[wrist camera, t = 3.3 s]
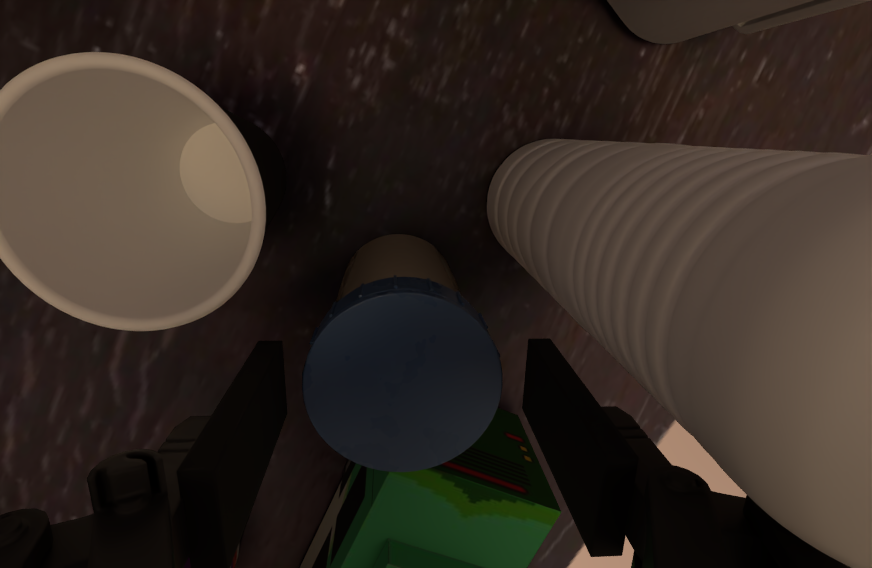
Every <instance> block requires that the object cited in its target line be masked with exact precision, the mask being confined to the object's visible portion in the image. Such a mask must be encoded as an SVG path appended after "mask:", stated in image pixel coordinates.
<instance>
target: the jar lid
mask: <svg viewBox="0 0 872 568" xmlns="http://www.w3.org/2000/svg"><path fill="white" fill-rule="evenodd" d="M487 328H488V326H487V325H486V323H485V321H484V319H483V317H482V315H481V313H479V314H478V313H477V311H476V310H475V309H474V308H473V307H472V306H471V304H470V303H469V302H468V301H466V300H465V299H464V298H463V297H462V296H461V294H460V292H459V291H457V292H455V291H453V290H452V289H450V288H448V287H446V286H444V285H442V284H440V283H437V282H434V281H431V279H430V278H427V279H422V278H417V277H397V275H393V277H390V278H385V279H380V280H376V281H373V282H370V283H367V284H365V285H364V283H362V284H360V287H358V288H356V289H354V290H353V291H351V292H350V293H348V294H347V295H345V296H344V297H343V298H342V299H340V300H339V301H338V302H334V303H333V305H332V308H331V309H330V310H329V311H328V313H327V314H326V316H325V317H324V318H323V320H322V321H321V323H320V325H319V327H318V328H317V327H316V328H315V330H314V333H313V336H312V338H311V341H310V343H309V344H311V347H310V350H309V353H308V356H307V359H306V362H305V365H304V370H303V372H302V376H303V377H302V391H303V399H304V403H305V407H306V410H307V413H308V416H309V418H310V420H311V422H312V424H313V426H314V427H315V429H316V430H317V432H318V433H319V435H320V436H321V437H322V438H323V439H324V441H325V442H326V443H327V444H328V445H329V446H331V447H332V448H333V449H334V450H335V451H336V452H338V453H339V454H341V455H342V456H344V457H345V458H347V459H349V460H351V461H353V462H355V463H357V464H360V465H362V466H365V467H368V468H372V469H376V470H381V471H388V472H411V471H418V470H423V469H428V468H431V467H434V466H437V465H440V464H442V463H445V462H447V461H449V460H451V459H453V458H455V457H456V456H458V455H460V454H461V453H462V452H464V451H465V450H466V449H468V448H469V447H470V446H471V445H472V444H473V443H475V442H476V441H477V440H478V439H479V438H480V436H481V435H482V434H483V433H484V431H485V430H486V429H487V427H488V426H489V424H490V422H491V421H492V419H493V417H494V415H495V412H496V410H497V408H498V404H499V401H500V397H501V391H502V368H501V362H500V358H499V357H500V354H499V352H498V350H497V348H496V346H495V344H494V342H493V340H492V339H491V337H490V335H489V333H488V330H487Z"/></svg>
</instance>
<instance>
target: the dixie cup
mask: <svg viewBox="0 0 872 568" xmlns="http://www.w3.org/2000/svg"><path fill="white" fill-rule="evenodd" d="M285 190H286V170H285V165H284V161H283V159H282V156H281V154H280V152H279V150H278V148H277V146H276V145H275V143H274V142H273V141H272V139H271V138H270V137H269V136H268V135H267V134H266V133H265V132H264V131H263V130H261V129H260V128H259V127H257V126H256V125H254V124H253V123H251V122H249V121H247V120H245V119H243V118H241V117H239V116H237V115H235V114H233V113H231V112H230V111H228V110H226V109H224V108H222V107H220V106H218V104H216V103H215V102H214V101H213V100H212V99H211V98H210V97H209V96H208V95H207V94H205V93H204V92H203V91H202V90H200V89H199V88H198V87H196V86H195V85H194V84H192V83H191V82H189V81H188V80H186V79H184V78H183V77H181V76H180V75H178V74H176V73H174V72H172V71H170V70H168V69H166V68H164V67H162V66H159V65H157V64H154V63H152V62H149V61H146V60H143V59H139V58H136V57H132V56H127V55H122V54H115V53H106V52H85V53H74V54H69V55H64V56H59V57H56V58H52V59H49V60H46V61H43V62H41V63H39V64H37V65H34V66H32V67H30V68H28V69H27V70H25V71H23V72H22V73H20V74H18V75H17V76H16V77H14V78H13V79H12V80H11V81H9V82H8V83H7V84H6V85H5V86H4V87H3V88H2V89H1V90H0V258H1V260H2V261H3V262H4V264H5V265H6V266H7V267H8V268H9V269H10V271H11V272H12V273H13V274H14V275H15V276H16V277H17V278H18V279H19V280H20V281H21V282H22V283H23V284H24V285H25V286H26V287H28V288H29V289H30V290H31V291H32V292H34V293H35V294H36V295H37V296H39V297H40V298H42V299H43V300H45V301H46V302H47V303H49V304H51V305H52V306H54V307H56V308H57V309H59V310H61V311H63V312H65V313H67V314H69V315H71V316H73V317H76V318H78V319H81V320H83V321H86V322H89V323H92V324H95V325H99V326H103V327H108V328H112V329H119V330H127V331H154V330H162V329H168V328H173V327H177V326H181V325H184V324H187V323H190V322H193V321H195V320H197V319H200V318H202V317H204V316H206V315H207V314H209V313H211V312H213V311H214V310H216V309H217V308H219V307H220V306H221V305H223V304H224V303H225V302H226V301H228V300H229V299H230V298H231V297H232V296H233V295H234V294H235V293H236V292H237V291H238V290H239V288H240V287H241V286H242V285H243V283H244V282H245V281H246V279H247V278H248V276H249V274H250V273H251V271H252V269H253V267H254V265H255V263H256V261H257V258H258V256H259V253H260V250H261V247H262V243H263V238H264V233H265V230H266V228H267V227H268V225H269V223H270V221H271V220H272V218H273V216H274V215H275V213H276V211H277V209H278V208H279V206H280V204H281V202H282V200H283V197H284V194H285Z"/></svg>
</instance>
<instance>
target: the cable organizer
mask: <svg viewBox="0 0 872 568" xmlns="http://www.w3.org/2000/svg"><path fill="white" fill-rule="evenodd" d="M607 1H608V3H609V4H610V5H611V7H612V8H613V9H614V11H615V12H616V13H617V15H618V16H619V17H620V19H621V20H622V21H623V23H624V24H625V25H626V26H627V27H628V28H629V30H631V31H632V32H633V33H634V34H636V35H637V36H639V37H640V38H642V39H644V40H647V41H649V42H652V43H658V44H672V43H677V42H681V41H684V40H688V39H691V38H694V37H697V36H700V35H704V34H707V33H710V32H713V31H717V30H720V29H723V28H726V27H730V26H733V27H734V28H735V29H736V30H737V31H738V32H740V33H743V34H750V33H753V32H757V31H761V30H764V29H768V28H772V27H775V26H779V25H783V24H786V23H790V22H794V21H797V20H801V19H805V18H808V17H812V16H816V15H819V14H823V13H827V12H830V11H834V10H838V9H841V8H845V7H849V6H852V5H856V4H860V3H864V2H867V1H871V0H607Z"/></svg>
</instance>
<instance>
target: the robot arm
mask: <svg viewBox="0 0 872 568" xmlns="http://www.w3.org/2000/svg"><path fill="white" fill-rule="evenodd" d="M522 409H523V411H524V413H525V415H526V418H527V420H528V422H529V424H530V426H531V428H532V431H533V433H534V435H535V437H536V439H537V441H538V444H539V446H540V448H541V450H542V452H543V454H544V457H545V459H546V461H547V463H548V465H549V467H550V470H551V472H552V474H553V476H554V478H555V480H556V482H557V485H558V487H559V489H560V491H561V493H562V495H563V498H564V500H565V502H566V504H567V506H568V508H569V511H570V513H571V515H572V517H573V519H574V521H575V524H576V526H577V528H578V530H579V532H580V534H581V536H582V539H583V541H584V543H585V545H586V547H587V549H588V552H589V554H590V556H591V557H601V556H621V555H622V552H623V546H624V541H625V535H626V537H627V538H628V540H629V542H630V544H631V545H632V547H633V549H634V555H633V560H632V566H631V568H851V567H849V566H847V565H845V564H843V563H841V562H839V561H837V560H835V559H834V558H832V557H830V556H828V555H826V554H825V553H823V552H821V551H819V550H818V549H816V548H814V547H813V546H811V545H810V544H808V543H806V542H805V541H803V540H802V539H800V538H799V537H797V536H796V535H794V534H793V533H791V532H790V531H789V530H787V529H786V528H785V527H783V526H782V525H781V524H779V523H778V522H777V521H776V520H774V519H773V518H772V517H771V516H769V515H768V514H767V513H766V512H765V511H764V510H763V509H762V508H760V507H759V506H758V505H757V504H756V503H755V502H754V501H753V500H752V499H751V498H750V497H749V496H748V495H747V496H746V498H743V497H738V496H732V495H727V494H722V493H717V492H713V491H711V490H710V488H709V486H708V484H707V483H706V482H705V481H704V480H703V479H702V478H701V477H700V476H698V475H696V474H695V473H693V472H691V471H689V470H687V469H684V468H681V467H678V466H673V465H671V464H670V462H669V461H668V460H667V459H666V458H665V457H664V455H663V454H662V453H661V452H660V450H659V449H658V448H657V447H656V445H655V444H654V443H653V442H652V441H651V439H650V438H648V436H647V435H646V433H645V432H644V431H643V430H642V429H640V426H639V425H638V424H637V422H636V421H635V420H634V419H633V418H632V416H630V415H629V414H627V413H626V412H624V411H623V410H621V409H619V408H618V407H616V406H615V407H601V406H600V405H599V404H598V402H597V401H596V400H595V398H594V397H593V396H592V394H591V393H590V392H589V390H588V389H587V388H586V386H585V385H584V384H583V382H582V381H581V380H580V378H579V377H578V376H577V374H576V373H575V372H574V370H573V369H572V368H571V366H570V365H569V364H568V362H567V361H566V360H565V358H564V357H563V356H562V354H561V353H560V351H559V350H558V349H557V347H556V346H555V345H554V343H553V342H552V341H551V339H528V350H527V361H526V372H525V383H524V395H523V406H522ZM286 415H287V403H286V388H285V374H284V359H283V345H282V341H258V343H257V344H256V346H255V348H254V349H253V351H252V352H251V354H250V356H249V357H248V359H247V360H246V362H245V363H244V365H243V367H242V368H241V370H240V371H239V373H238V375H237V376H236V378H235V379H234V381H233V382H232V384H231V386H230V387H229V389H228V390H227V392H226V394H225V395H224V397H223V398H222V400H221V401H220V403H219V405H218V406H217V408H216V409H215V411H214V413H213V414H212V416H191V417H189V418H188V419H186V420H185V421H183V422H182V423H181V424H179V425H178V426H176V427H175V428H174V429H173V431H172V432H171V434H170V435H169V436H168V438H167V439H166V442H164V443H163V444H162V446H161V447H160V449H159V450H158V452H155V451H153V450H148V449H137V450H130V451H125V452H122V453H119V454H116V455H113V456H111V457H109V458H107V459H106V460H104V461H102V462H100V463H99V464H98V465H97V466H96V467H94V468H93V469H92V470H91V471H90V473H89V475H88V477H87V482H88V487H89V491H90V496H91V501H92V505H93V510H94V514H92V515H89V516H86V517H82V518H79V519H75V520H70V521H66V522H62V523H58V524H54V525H50V522H49V518H48V516H47V514H46V513H45V512H44V511H41V510H38V509H21V510H17V511H13V512H8V513H5V514H3V515H1V516H0V568H184V566H185V564H186V561H187V559H188V557H189V559H190V565H191V568H230V566H231V563H232V561H233V558H234V555H235V553H236V550H237V547H238V545H239V542H240V539H241V537H242V534H243V531H244V528H245V526H246V523H247V520H248V518H249V515H250V512H251V510H252V507H253V504H254V501H255V499H256V496H257V493H258V491H259V488H260V485H261V483H262V480H263V477H264V475H265V472H266V469H267V466H268V464H269V461H270V458H271V456H272V453H273V450H274V448H275V445H276V442H277V439H278V437H279V434H280V431H281V429H282V426H283V423H284V421H285V418H286Z"/></svg>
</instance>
